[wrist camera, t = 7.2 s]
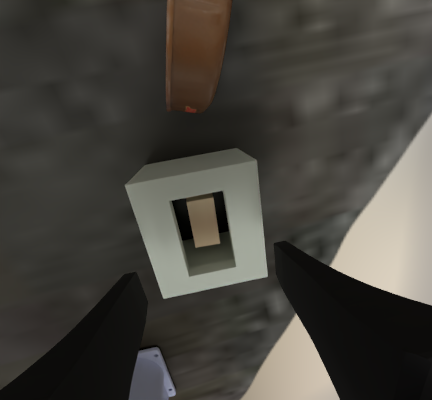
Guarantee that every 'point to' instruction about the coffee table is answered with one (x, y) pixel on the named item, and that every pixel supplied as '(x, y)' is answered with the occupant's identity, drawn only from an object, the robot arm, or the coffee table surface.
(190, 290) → the box
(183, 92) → the tin
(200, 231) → the block
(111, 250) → the coffee table surface
